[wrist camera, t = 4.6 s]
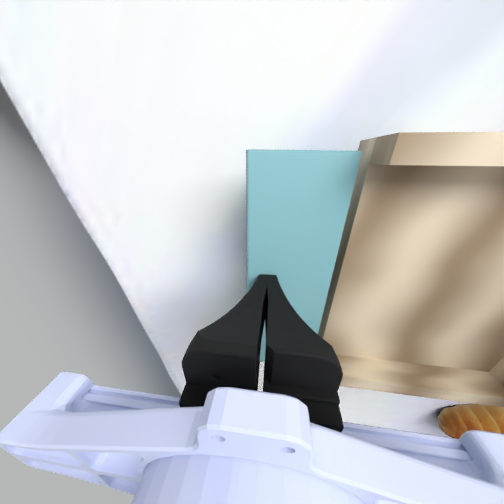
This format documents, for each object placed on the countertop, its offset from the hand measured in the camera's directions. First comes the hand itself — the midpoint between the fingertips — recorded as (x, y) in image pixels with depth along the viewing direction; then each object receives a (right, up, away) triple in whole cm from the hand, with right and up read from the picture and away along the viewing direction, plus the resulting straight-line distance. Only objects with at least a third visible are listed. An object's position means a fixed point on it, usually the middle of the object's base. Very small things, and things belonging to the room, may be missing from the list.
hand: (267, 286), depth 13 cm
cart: (+13, +1, +2) cm, 13 cm away
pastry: (+28, -18, +11) cm, 35 cm away
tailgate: (+5, 0, 0) cm, 5 cm away
